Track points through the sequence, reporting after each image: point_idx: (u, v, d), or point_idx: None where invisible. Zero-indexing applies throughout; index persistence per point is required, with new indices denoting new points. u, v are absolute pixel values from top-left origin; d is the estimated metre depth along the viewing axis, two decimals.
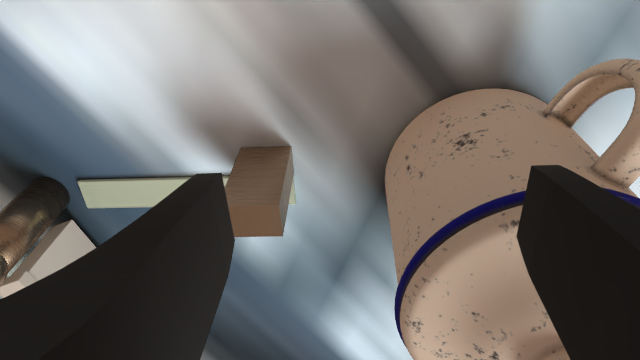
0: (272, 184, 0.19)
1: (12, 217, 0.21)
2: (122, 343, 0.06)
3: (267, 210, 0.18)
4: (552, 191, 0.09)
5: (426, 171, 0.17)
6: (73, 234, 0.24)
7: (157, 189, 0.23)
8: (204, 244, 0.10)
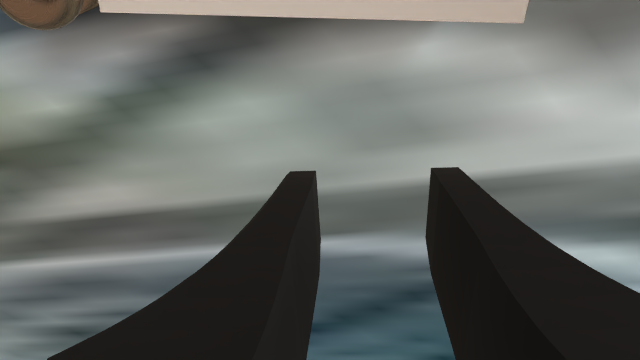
0: None
1: None
2: (280, 343, 0.06)
3: None
4: (441, 193, 0.10)
5: None
6: None
7: None
8: (309, 242, 0.10)
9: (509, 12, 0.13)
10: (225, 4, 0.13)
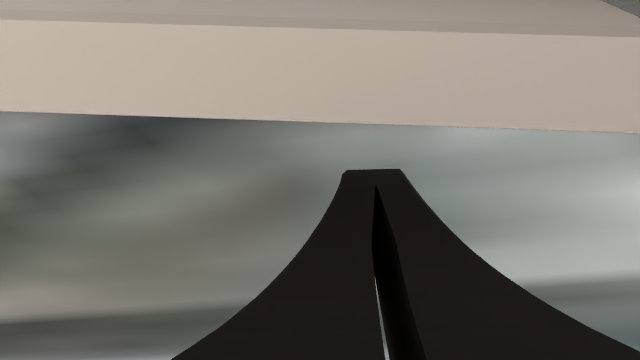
0: None
1: None
2: None
3: None
4: (376, 195, 0.10)
5: None
6: None
7: None
8: (373, 242, 0.09)
9: None
10: (128, 97, 0.07)
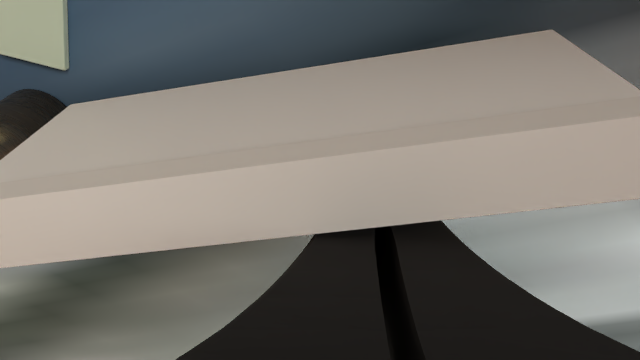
0: None
1: None
2: None
3: None
4: None
5: None
6: (80, 110, 0.11)
7: None
8: (376, 242, 0.09)
9: None
10: (147, 238, 0.08)
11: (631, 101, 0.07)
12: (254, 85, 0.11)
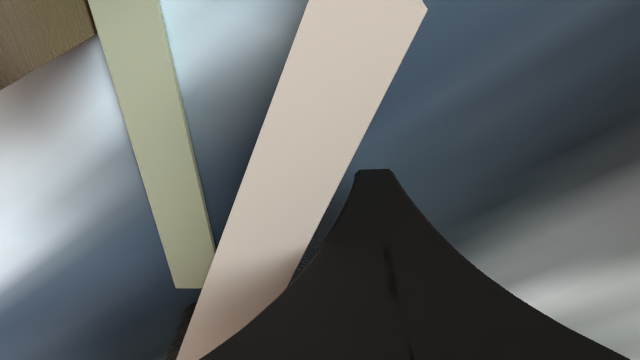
0: None
1: None
2: None
3: None
4: None
5: None
6: None
7: (162, 188, 0.14)
8: None
9: (392, 32, 0.06)
10: None
11: None
12: None
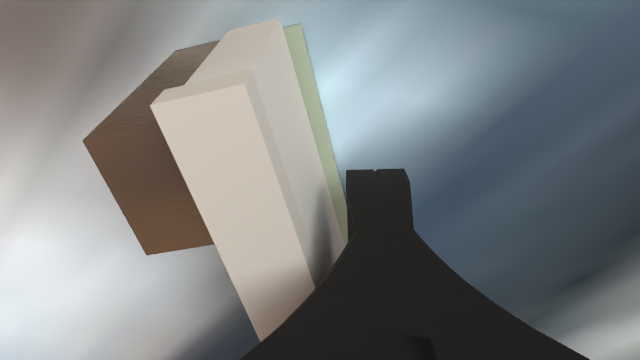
0: None
1: None
2: None
3: (109, 162, 0.07)
4: (347, 195, 0.10)
5: None
6: None
7: None
8: None
9: (236, 115, 0.07)
10: None
11: None
12: None
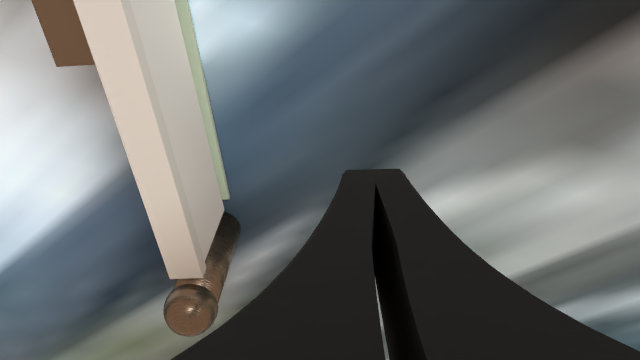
0: None
1: None
2: None
3: (40, 3, 0.14)
4: (376, 195, 0.10)
5: None
6: None
7: None
8: (373, 242, 0.09)
9: None
10: (173, 207, 0.17)
11: None
12: None
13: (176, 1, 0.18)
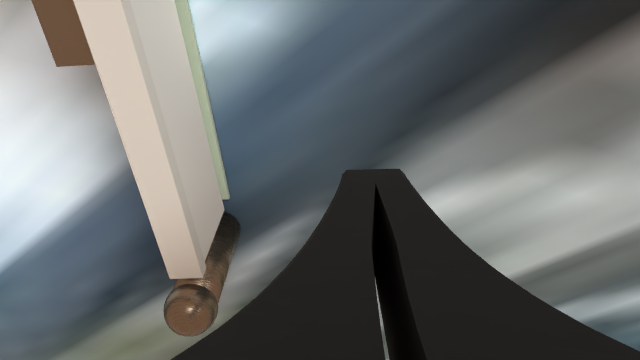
0: None
1: None
2: None
3: (40, 3, 0.14)
4: (376, 195, 0.10)
5: None
6: None
7: None
8: (373, 242, 0.09)
9: None
10: (173, 206, 0.17)
11: None
12: None
13: (176, 1, 0.18)
